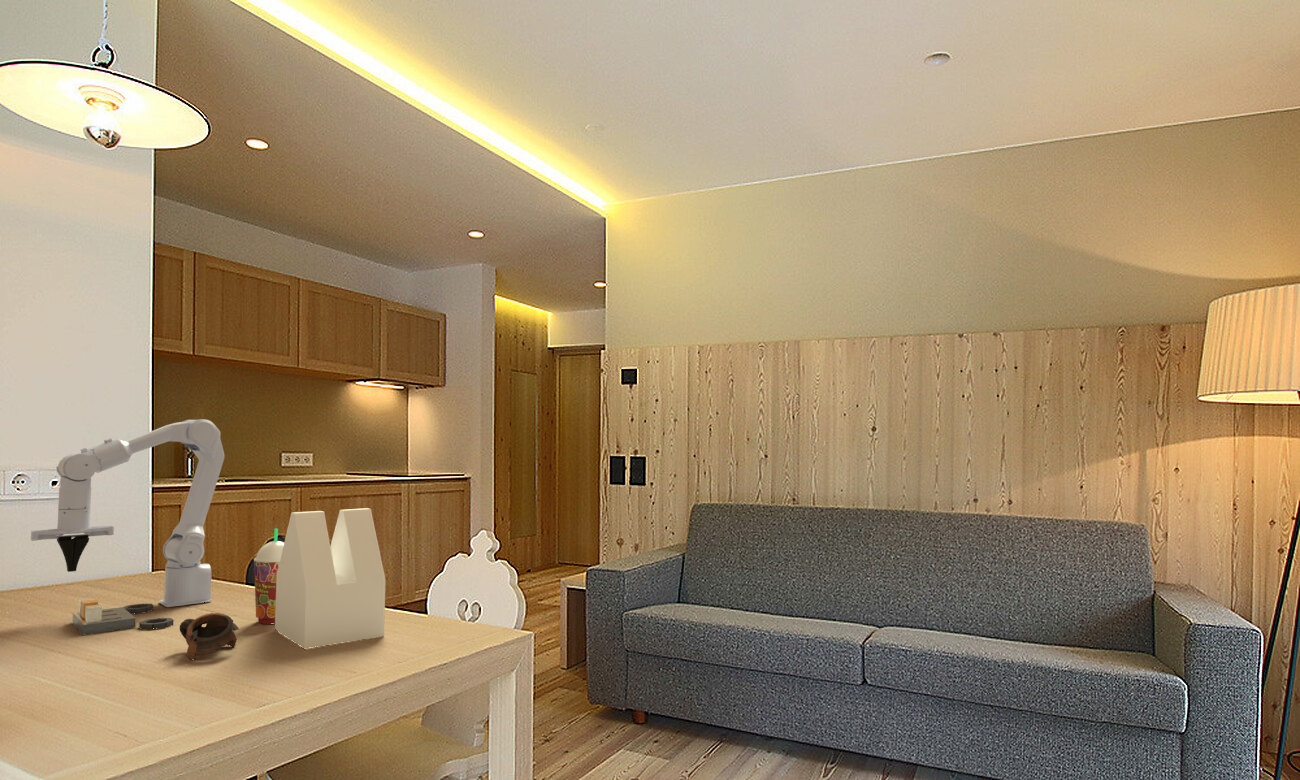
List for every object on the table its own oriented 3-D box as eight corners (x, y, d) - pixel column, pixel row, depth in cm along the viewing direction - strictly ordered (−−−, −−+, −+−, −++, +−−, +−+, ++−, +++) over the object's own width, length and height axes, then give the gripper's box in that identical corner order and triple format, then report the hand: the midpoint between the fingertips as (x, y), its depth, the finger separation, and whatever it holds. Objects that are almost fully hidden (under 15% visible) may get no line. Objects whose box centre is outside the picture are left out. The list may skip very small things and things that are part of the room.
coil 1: (149, 607, 182) (149, 602, 182) (155, 611, 178) (155, 606, 178) (120, 611, 178) (120, 606, 178) (125, 615, 174) (125, 610, 174)
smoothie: (242, 623, 167) (245, 529, 168) (274, 615, 174) (277, 525, 176) (271, 627, 164) (274, 531, 165) (303, 619, 171) (305, 527, 172)
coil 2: (168, 621, 168) (169, 616, 168) (175, 626, 164) (175, 621, 164) (137, 626, 164) (137, 620, 164) (143, 631, 160) (143, 625, 160)
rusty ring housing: (252, 648, 149) (249, 616, 146) (215, 684, 141) (211, 651, 137) (198, 629, 151) (194, 597, 148) (159, 664, 143) (153, 630, 139)
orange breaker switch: (94, 613, 165) (95, 599, 165) (97, 616, 163) (98, 601, 163) (81, 615, 164) (81, 601, 164) (83, 618, 161) (84, 603, 162)
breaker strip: (122, 616, 173) (123, 593, 173) (135, 627, 163) (136, 603, 163) (72, 622, 167) (73, 599, 167) (82, 635, 157) (83, 609, 157)
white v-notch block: (384, 636, 157) (387, 512, 159) (304, 650, 147) (308, 516, 148) (349, 619, 172) (352, 505, 173) (274, 630, 162) (278, 509, 163)
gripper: (34, 512, 164) (31, 577, 163) (117, 507, 174) (114, 569, 173) (31, 509, 169) (27, 572, 168) (111, 505, 179) (108, 565, 178)
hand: (71, 570), depth 171 cm, fingers closed
